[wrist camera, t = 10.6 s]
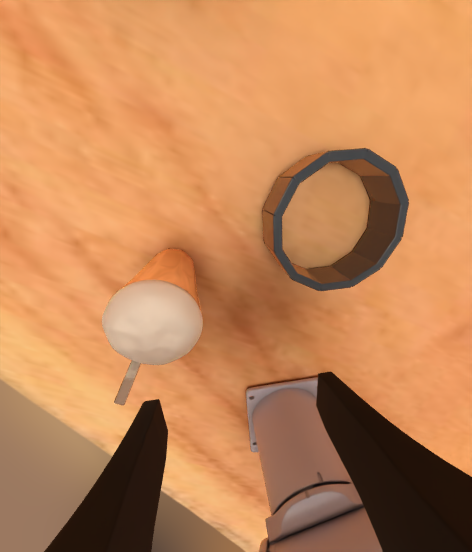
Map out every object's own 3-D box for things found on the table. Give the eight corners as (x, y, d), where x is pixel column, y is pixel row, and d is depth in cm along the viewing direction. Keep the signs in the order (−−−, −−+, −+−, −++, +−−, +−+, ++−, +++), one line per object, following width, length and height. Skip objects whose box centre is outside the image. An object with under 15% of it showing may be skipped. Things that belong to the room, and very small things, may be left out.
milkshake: (130, 288, 19) (62, 389, 10) (157, 228, 18) (107, 282, 9) (183, 310, 20) (167, 417, 11) (213, 255, 19) (221, 328, 10)
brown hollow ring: (368, 267, 21) (394, 282, 18) (264, 280, 20) (274, 297, 17) (384, 149, 18) (420, 143, 15) (260, 159, 17) (272, 155, 14)
